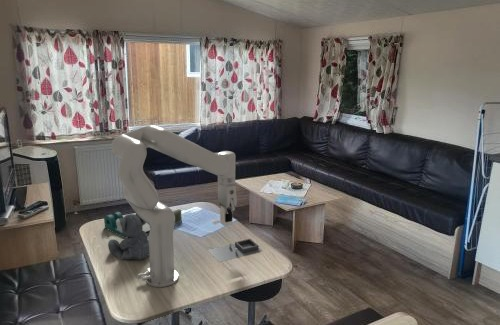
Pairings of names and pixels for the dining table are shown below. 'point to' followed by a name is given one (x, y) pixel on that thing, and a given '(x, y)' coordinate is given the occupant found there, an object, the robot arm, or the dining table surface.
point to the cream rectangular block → (222, 216)
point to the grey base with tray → (235, 250)
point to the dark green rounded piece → (113, 222)
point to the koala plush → (130, 239)
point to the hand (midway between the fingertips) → (226, 219)
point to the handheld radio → (177, 217)
